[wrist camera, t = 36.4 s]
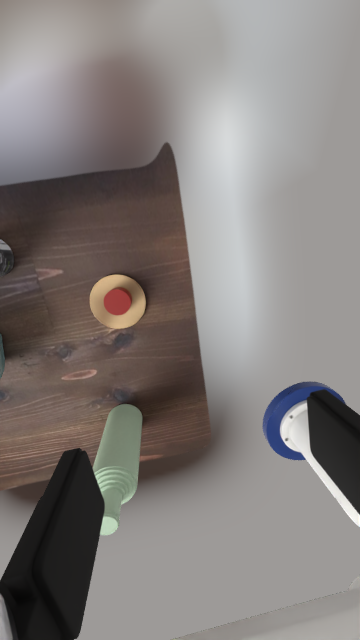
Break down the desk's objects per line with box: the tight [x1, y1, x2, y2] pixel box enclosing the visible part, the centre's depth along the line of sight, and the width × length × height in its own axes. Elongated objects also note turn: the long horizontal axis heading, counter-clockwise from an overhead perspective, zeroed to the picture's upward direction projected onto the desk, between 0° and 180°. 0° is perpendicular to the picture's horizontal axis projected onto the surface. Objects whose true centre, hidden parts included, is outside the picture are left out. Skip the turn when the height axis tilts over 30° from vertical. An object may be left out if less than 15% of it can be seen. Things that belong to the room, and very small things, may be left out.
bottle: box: [93, 404, 143, 535], centre depth 37 cm, size 6×6×19 cm
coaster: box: [90, 274, 146, 329], centre depth 40 cm, size 9×9×1 cm
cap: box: [104, 287, 132, 316], centre depth 38 cm, size 4×4×3 cm
